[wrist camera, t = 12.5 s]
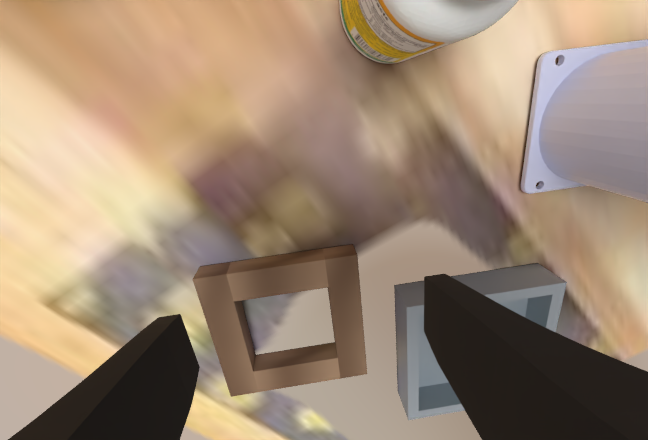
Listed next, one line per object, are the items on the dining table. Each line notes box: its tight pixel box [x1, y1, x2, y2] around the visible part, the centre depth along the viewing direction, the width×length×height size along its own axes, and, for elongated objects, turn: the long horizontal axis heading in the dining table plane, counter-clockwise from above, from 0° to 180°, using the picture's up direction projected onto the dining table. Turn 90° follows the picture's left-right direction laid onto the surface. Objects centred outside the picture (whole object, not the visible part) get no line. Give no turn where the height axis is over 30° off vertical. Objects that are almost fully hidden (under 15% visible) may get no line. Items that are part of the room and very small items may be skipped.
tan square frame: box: [193, 244, 367, 396], centre depth 21 cm, size 10×10×2 cm
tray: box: [394, 263, 567, 420], centre depth 22 cm, size 11×11×2 cm
